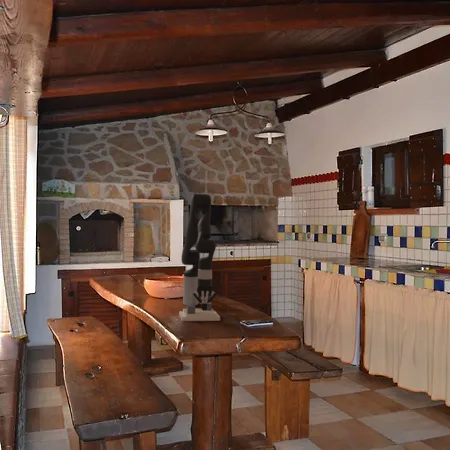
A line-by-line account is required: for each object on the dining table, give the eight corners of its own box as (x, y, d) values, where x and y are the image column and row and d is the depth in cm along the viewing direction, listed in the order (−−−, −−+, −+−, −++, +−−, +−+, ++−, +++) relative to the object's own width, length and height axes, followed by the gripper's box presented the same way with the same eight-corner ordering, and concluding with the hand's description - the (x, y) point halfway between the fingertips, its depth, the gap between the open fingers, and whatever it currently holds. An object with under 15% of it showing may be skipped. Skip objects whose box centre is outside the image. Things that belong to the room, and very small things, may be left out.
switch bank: (179, 314, 300) (179, 308, 299) (215, 314, 303) (215, 308, 303) (181, 321, 284) (182, 314, 284) (220, 320, 287) (220, 313, 287)
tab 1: (186, 314, 290) (186, 305, 290) (194, 314, 290) (194, 305, 290) (187, 316, 286) (187, 306, 286) (195, 316, 286) (195, 306, 286)
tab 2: (203, 311, 300) (203, 302, 300) (210, 311, 301) (210, 302, 301) (204, 312, 296) (204, 303, 296) (211, 312, 297) (211, 303, 297)
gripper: (216, 276, 294) (215, 309, 294) (191, 276, 292) (190, 309, 292) (218, 278, 286) (217, 311, 287) (193, 278, 284) (192, 311, 285)
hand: (204, 310), depth 290 cm, fingers closed
